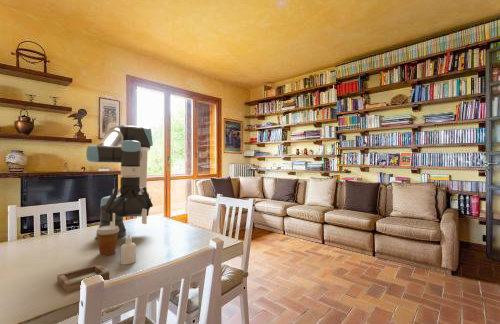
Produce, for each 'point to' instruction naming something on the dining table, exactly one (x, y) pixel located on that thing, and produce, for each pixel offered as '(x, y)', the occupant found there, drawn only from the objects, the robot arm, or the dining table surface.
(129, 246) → the eye dropper bottle
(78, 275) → the wooden tray
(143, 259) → the dining table surface
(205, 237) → the dining table surface
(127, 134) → the robot arm
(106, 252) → the disposable coffee cup
